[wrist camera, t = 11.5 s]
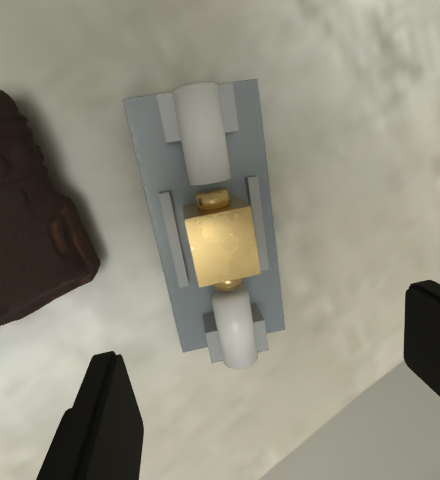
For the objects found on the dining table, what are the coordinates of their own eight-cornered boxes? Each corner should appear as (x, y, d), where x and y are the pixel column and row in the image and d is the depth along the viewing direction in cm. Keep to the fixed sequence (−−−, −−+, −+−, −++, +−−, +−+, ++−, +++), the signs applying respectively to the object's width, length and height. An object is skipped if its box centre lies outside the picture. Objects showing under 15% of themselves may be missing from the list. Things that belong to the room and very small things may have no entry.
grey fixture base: (126, 102, 23) (110, 86, 18) (252, 82, 24) (275, 62, 19) (182, 342, 30) (183, 388, 24) (280, 321, 31) (303, 359, 25)
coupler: (179, 191, 24) (180, 201, 20) (234, 181, 25) (247, 188, 20) (197, 275, 27) (202, 302, 22) (247, 264, 27) (262, 288, 22)
